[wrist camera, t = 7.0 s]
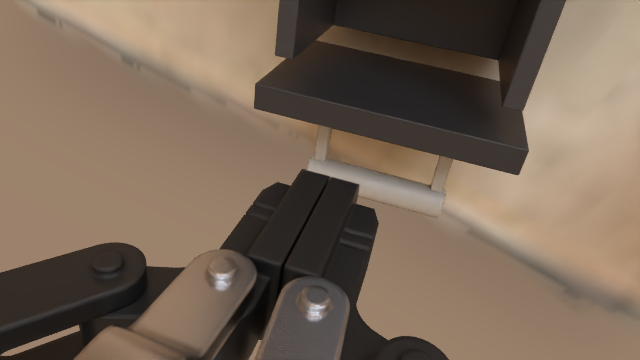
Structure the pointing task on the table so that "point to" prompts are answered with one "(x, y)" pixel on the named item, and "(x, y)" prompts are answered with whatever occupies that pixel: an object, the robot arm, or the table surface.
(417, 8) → the drawer
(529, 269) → the table surface
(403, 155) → the table surface
